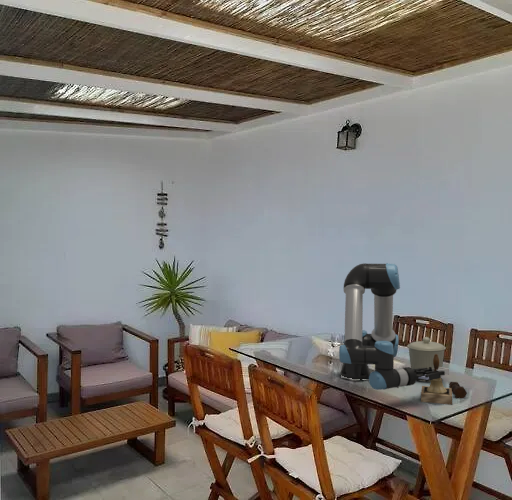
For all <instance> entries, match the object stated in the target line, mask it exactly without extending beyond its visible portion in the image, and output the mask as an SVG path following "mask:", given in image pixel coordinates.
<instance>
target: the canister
mask: <svg viewBox="0 0 512 500" xmlns="http://www.w3.org/2000/svg"><path fill="white" fill-rule="evenodd" d="M406 347H407V348H408V353H409V354H408V355H409V362H410V363H409V364H410V368H412V369H418V368H428V369H429V367H432V369H434V365H433V358H434V355H435V354H438V357H439V367H438V368H441V367H444V366H443V365H444V357H445V356H444V355H445V350H447V349H446V348H447V347H446V346H444V345H443V343H439V342H436V341H431V338H430V337H429V336H424V337H423V338H422V340H421V341H413V342H410V343H408V344H407V345H406ZM419 382H421V383H422V382H424V383H431V380H429V381H427V382H426V381H425V380H420V381H419Z"/></svg>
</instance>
